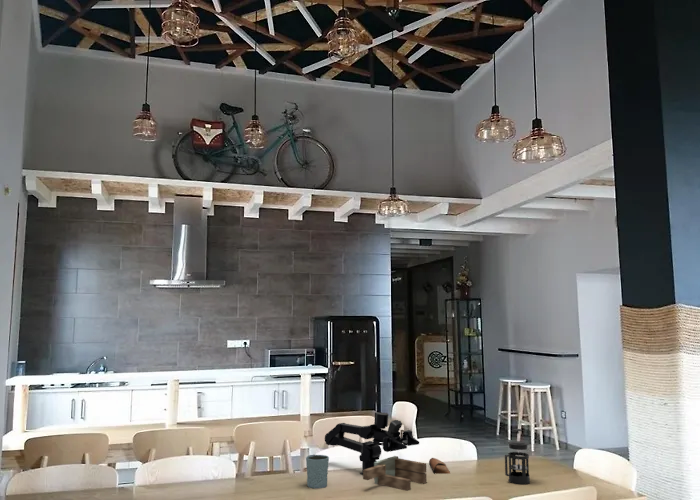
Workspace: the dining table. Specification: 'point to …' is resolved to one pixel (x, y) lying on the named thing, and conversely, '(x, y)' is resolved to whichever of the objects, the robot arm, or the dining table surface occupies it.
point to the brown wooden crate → (401, 473)
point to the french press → (514, 476)
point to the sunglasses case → (438, 466)
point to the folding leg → (374, 472)
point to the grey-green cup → (317, 470)
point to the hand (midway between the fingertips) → (413, 445)
